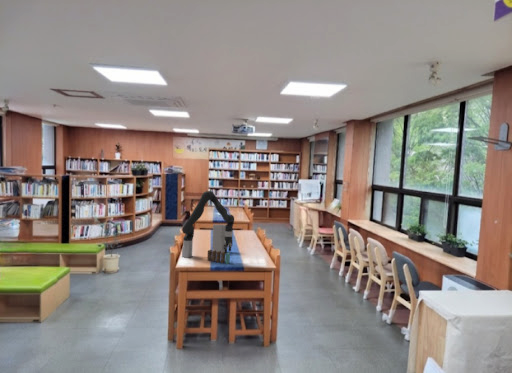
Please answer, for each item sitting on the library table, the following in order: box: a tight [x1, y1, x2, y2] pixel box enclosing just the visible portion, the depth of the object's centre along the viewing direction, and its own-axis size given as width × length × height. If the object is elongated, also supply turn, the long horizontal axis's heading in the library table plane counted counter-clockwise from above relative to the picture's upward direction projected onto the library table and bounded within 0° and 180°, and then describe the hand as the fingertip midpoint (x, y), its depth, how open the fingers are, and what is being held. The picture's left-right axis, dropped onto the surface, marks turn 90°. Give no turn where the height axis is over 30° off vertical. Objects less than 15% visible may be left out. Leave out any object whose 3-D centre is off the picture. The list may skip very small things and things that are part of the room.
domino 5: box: [224, 251, 231, 265], centre depth 301 cm, size 2×5×10 cm, turn 158°
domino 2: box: [211, 250, 217, 263], centre depth 306 cm, size 2×5×10 cm, turn 158°
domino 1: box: [206, 249, 212, 262], centre depth 308 cm, size 2×5×10 cm, turn 158°
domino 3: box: [215, 251, 221, 263], centre depth 304 cm, size 2×5×10 cm, turn 158°
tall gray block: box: [211, 224, 227, 254], centre depth 338 cm, size 14×6×30 cm, turn 103°
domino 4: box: [220, 252, 226, 264], centre depth 303 cm, size 2×5×10 cm, turn 158°
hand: (227, 252), depth 300 cm, fingers open, 8 cm apart
